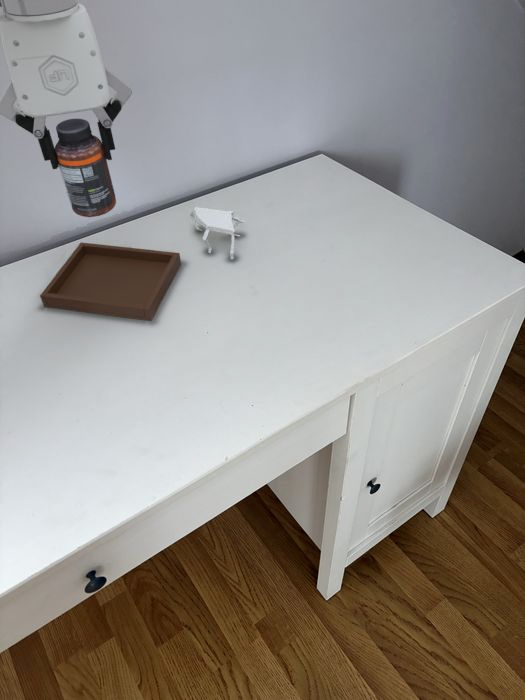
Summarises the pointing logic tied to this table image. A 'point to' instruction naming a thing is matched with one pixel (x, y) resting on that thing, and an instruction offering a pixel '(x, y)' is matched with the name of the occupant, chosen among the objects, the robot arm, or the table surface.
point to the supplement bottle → (84, 169)
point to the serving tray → (112, 281)
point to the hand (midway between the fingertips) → (81, 158)
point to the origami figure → (216, 223)
